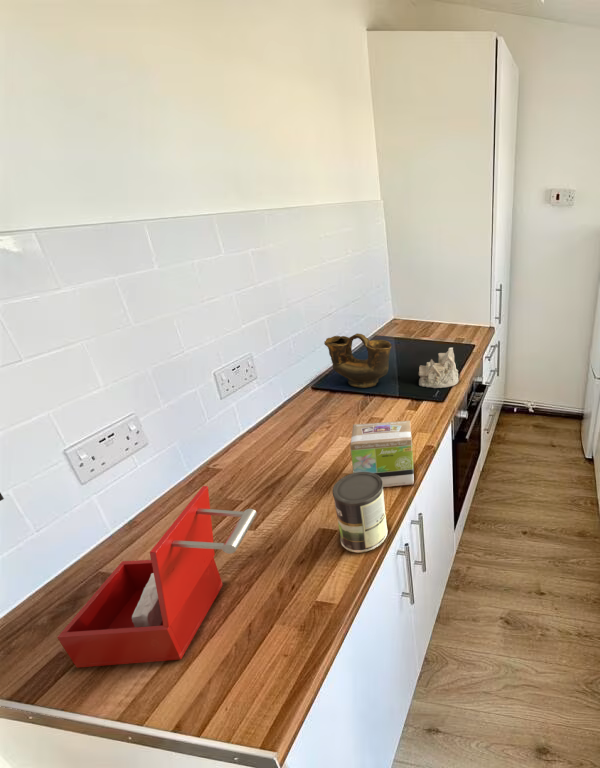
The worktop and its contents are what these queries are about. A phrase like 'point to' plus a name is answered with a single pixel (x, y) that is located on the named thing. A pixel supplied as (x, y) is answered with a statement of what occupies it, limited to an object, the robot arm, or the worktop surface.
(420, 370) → the ceramic cottage
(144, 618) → the soap bar
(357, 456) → the tea box
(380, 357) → the pottery vessel
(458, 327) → the worktop surface
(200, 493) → the lid
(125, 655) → the box
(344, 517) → the coffee can
